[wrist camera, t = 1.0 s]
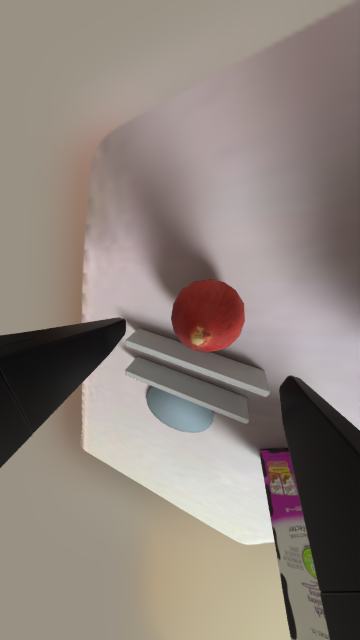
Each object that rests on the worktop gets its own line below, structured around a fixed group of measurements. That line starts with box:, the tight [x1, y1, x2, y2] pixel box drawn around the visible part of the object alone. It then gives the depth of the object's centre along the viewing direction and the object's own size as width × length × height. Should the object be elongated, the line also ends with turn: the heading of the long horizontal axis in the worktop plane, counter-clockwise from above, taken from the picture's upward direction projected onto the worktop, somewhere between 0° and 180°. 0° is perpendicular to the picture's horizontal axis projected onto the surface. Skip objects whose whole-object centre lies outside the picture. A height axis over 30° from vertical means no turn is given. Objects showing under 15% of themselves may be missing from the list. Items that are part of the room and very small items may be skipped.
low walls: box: [125, 328, 270, 424], centre depth 18 cm, size 16×6×3 cm, turn 79°
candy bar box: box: [260, 449, 330, 640], centre depth 14 cm, size 11×5×16 cm, turn 127°
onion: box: [171, 279, 245, 353], centre depth 12 cm, size 6×6×8 cm
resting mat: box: [147, 386, 213, 433], centre depth 24 cm, size 11×11×1 cm
